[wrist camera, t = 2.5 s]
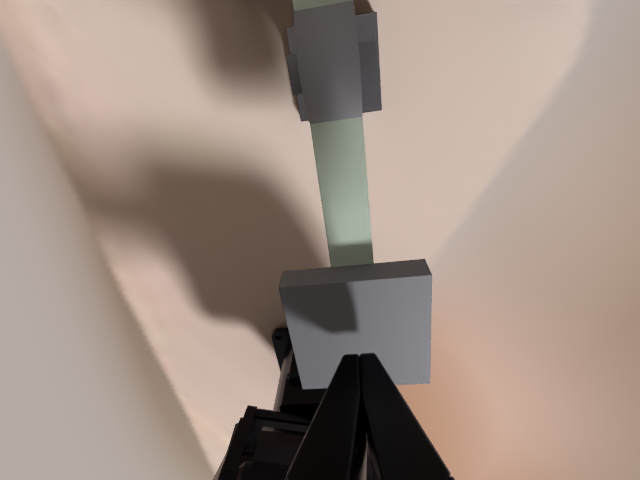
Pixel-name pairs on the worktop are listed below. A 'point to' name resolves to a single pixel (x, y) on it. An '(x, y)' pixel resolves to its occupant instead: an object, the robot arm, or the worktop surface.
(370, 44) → the lever post
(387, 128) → the worktop surface
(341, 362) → the robot arm
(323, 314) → the lever
